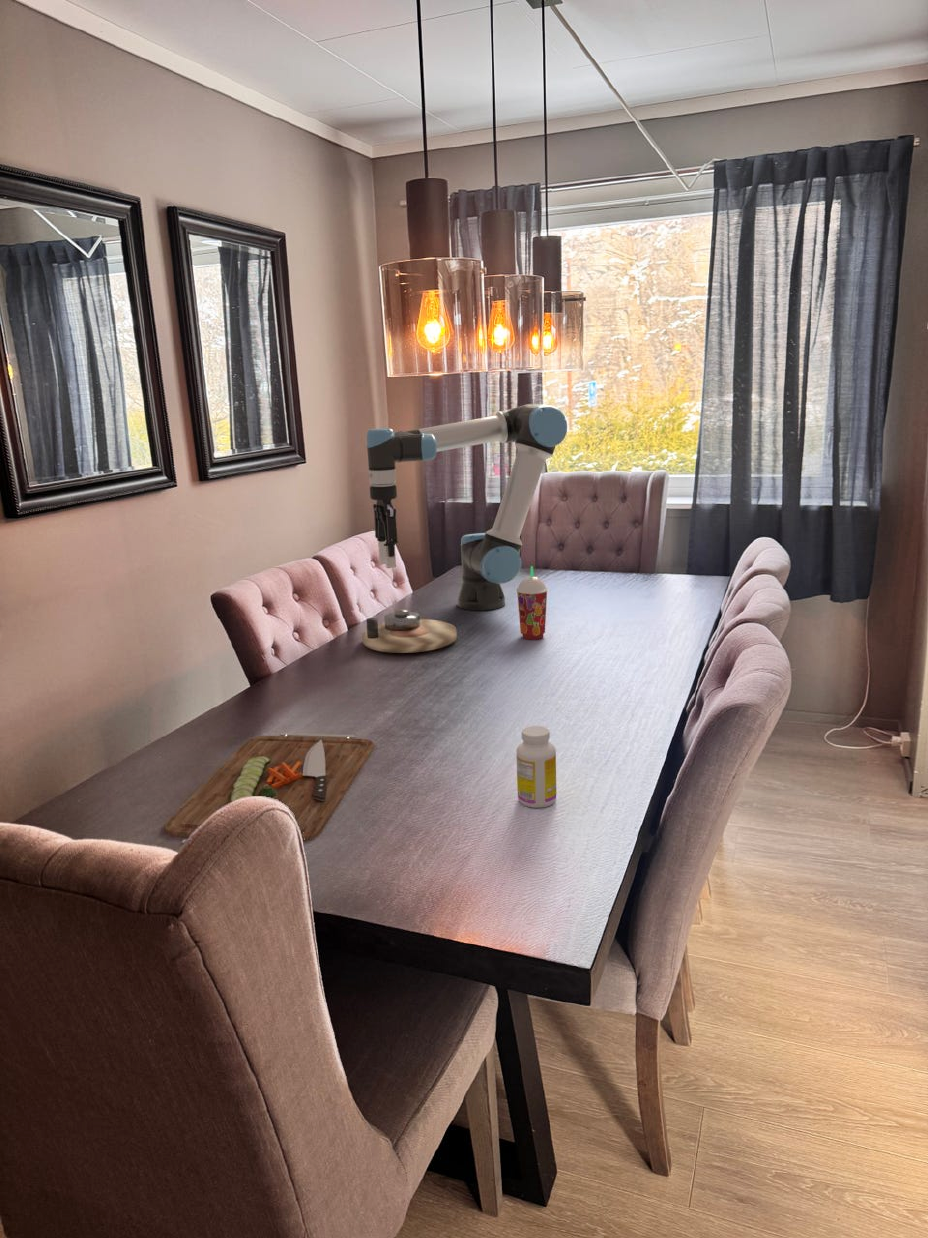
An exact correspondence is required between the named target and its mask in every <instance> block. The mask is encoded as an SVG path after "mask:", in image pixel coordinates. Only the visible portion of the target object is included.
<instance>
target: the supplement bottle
mask: <svg viewBox="0 0 928 1238" xmlns="http://www.w3.org/2000/svg"><path fill="white" fill-rule="evenodd" d="M550 737H551V736H550V729H549V728H548V727H544V726H540V725H530V726H526V727H524V728H523V729H522V730H521V739H522V742H521V743H519V744H518V745H517V748H516V778H517V779H516V780H517V798H518V799H517V800H518V801H519V803H521V805H522V806H525V807H528V808H534V809H535V808H536V809H537V808H538V809H539V808H546V807H547V808H548V807H550V806H552V805H553V804H554V803H555V802H556V801H557V752H556V747H555V745H554V744H553V743H552V742H551V741H549V740H550Z"/></svg>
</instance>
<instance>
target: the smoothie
mask: <svg viewBox="0 0 928 1238" xmlns="http://www.w3.org/2000/svg"><path fill="white" fill-rule="evenodd" d="M516 591H517V604H518V616H519V617H518V618H519V628H520V634H521V636H522V638H523V639H525V640H528V641H529V640H531V641H532V640H535V641H536V640H540V639H543V637H544V634H545V633H546V620H547V616H546V615H547V602H548V601H547V600H548V599H547V597H548V587H547V586H546V584H545V582H544V581H543V580H542V579H541V578H540V577H538V576H534V566H533V565H532V566H530V576H529V575H528V576H527V577H524V578H523V579H522V580H521V581H520V583H519V585H518V587H517V588H516Z"/></svg>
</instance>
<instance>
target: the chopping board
mask: <svg viewBox="0 0 928 1238" xmlns="http://www.w3.org/2000/svg"><path fill="white" fill-rule="evenodd" d="M374 748H375V744H374V742H373V741H372V740H370V739H367V738H357V736H356V734H355V735H354V734H332V733H331V734H328V733H327V734H325V733H295V732H293V733H291V732H281V733H280V734H279V735H260V736H259V735H258V736H255V737H251V738H249V739H247V740H246V741H244V743H243V744H242V745H241V746H240V747H238V749H237V750H236V751H235V752H234V753H233V754H232V755H230V757H229V758H228V759H226V760H225V762H224V763H223V764H222V765H221V766H220V767H219V768H218V769H216V771H215V772H214V773H213V774H212V775H211V776H210V777H209V778H208V779H207V780H206V781H205V782H203V784H202V785H201V786H200V787H199V788H198V789H197V790H195V792H194V793H193V794H192V795H191V796H190V797H189V798H188V799H187V800H186V801H185V802H184V803H183V804H182V805H181V806H180V807H179V808H178V809H177V810H176V811H175V812H174V813H173V814H172V815H171V816H170V817H169V818H168V819H167V820H166V821H165V823H164V824H163V825H164V831H165V833H166V834H168V835H169V836H174V837H185V838H187V837H188V838H190V837H189V836H190V834H191V833H192V832H193V831H194V830H195V829H196V828H197V827H198V826H200V825H201V824H202V823H203V822H204V821H205V820H206V819H207V818H208V817H209V816H210V815H211V814H212V813H213V812H215V811H216V810H218V809H219V808H221V807H222V806H224V805H226V804H228V803H230V802H232V801H234V800H236V799H237V798H240V797H244V796H266V797H271V798H274V799H278V800H279V801H281V802H282V803H284V804H285V805H287V806H288V807H289V809H290V810H291V811H292V812H293V813H294V815H295V819H296V821H297V823H298V826H299V827H300V830H301V834H302V838H303V842H302V843H304V842H307V841H310V840H313V839H316V838H317V837H318V836H319V835H320V834H321V833H322V832H323V830H324V828H325V827H326V825H327V824H328V822H329V820H331V819H330V818H331V817H332V816H333V814H334V812H335V811H336V809H337V808H338V806H339V804H340V803H341V802H342V800H343V798H344V796H345V795H346V794H347V792H348V791H349V789H350V787H352V784H353V782H354V781H355V780H356V778H357V776H358V775H359V774H360V772H361V770H362V768H364V765H365V764H366V762H367V761H368V759H369V758H370V756H371V754H372V753H373V752H374ZM214 809H215V810H214ZM303 832H304V833H303ZM185 838H184V839H182V841H181V844H182V845H184V844H183V843H184V842H185V841H186V840H187V839H185ZM304 838H305V840H304Z"/></svg>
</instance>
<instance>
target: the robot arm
mask: <svg viewBox="0 0 928 1238" xmlns="http://www.w3.org/2000/svg"><path fill="white" fill-rule="evenodd" d="M567 433H568V422H567V419H566V416H565V414H564V413H563V412H562V410H561V409H559V408H558V407H556V406H553V405H549V404H546V403H544V404H543V403H542V404H535V403H533V404H532V403H528V404H524V405H520V406H517V407H516V406H515V407H513V408H509V409H505V410H501V411H497V412H496V413H495V414H494V415H492V416H485V417H480V418H475V419H469V420H464V421H463V420H462V421H457V422H452V423H451V422H450V423H447V424H446V423H445V424H440V425H435V426H430V427H429V426H427V427H423V428H417V429H411V430H406V431H405V430H400V431H396V432H394V430H393V429H392V428H371V429H369V430H367V432H366V448H367V464H368V474H367V475H366V476H367V478H369V479H368V480H369V484H370V486H369V495H370V496H369V497H370V499H371V500H373V501H376V504H375V503H374V504H373V505H372V507H373V515H374V516H373V517H374V537H375V539H376V540H377V544H378V559H379V562H378V564H379V565H385V568H386V569H391V568H392V569H393V568H397V558H396V544H398V529H397V518H396V517H397V516H396V515H397V509H396V508H394V506H393V505H392V500H395V499H397V497H398V495H397V493H398V492H397V485H396V483H397V469H396V463H405V462H406V463H407V462H426V461H433V460H434V459H436V456H437V453H438V452H439V453H440V452H443V451H449V450H454V449H461V448H467V447H472V446H478V445H483V444H488V443H495V442H500V443H501V444H506V443H514V446H515V447H516V449H517V453H516V456H515V459H514V462H513V465H512V467H511V472H510V474H509V476H508V480H507V483H506V485H505V490H504V492H503V495H502V499H501V501H500V504H499V507H498V511H497V513H496V516H495V519H494V522H493V525H492V528H491V529H488V530H487V531H485V532H480V533H479V532H477V533H468V534H465V535H463V536H462V537H461V539H460V540H461V541H460V548H461V549H460V553H461V555H460V557H461V578H462V581H461V586H460V589H459V591H458V592H459V593H458V597H457V606H458V608H460V609H463V610H467V611H468V610H469V611H489V610H490V611H491V610H496V609H500V608H502V607H504V606H505V605H506V597H505V594H504V591H503V590H504V589H503V587H502V585H501V584H507V583H509V582H511V581H513V580H514V579H516V577H517V576H518V575H519V573H520V571H521V568H522V558H521V555H520V552H521V549H522V547H523V543H522V540H521V537H520V536H521V534H522V531H523V527H524V524H525V522H526V518H527V516H528V512H529V510H530V507H531V504H532V501H533V499H534V495H535V493H536V489H537V486H538V484H539V480H540V477H541V474H542V471H543V469H544V465H545V463H546V461H547V460H548V459H550V458H551V457H553V456H554V453H555V450H556V446H558V445H559V444H561V443H562V442H563V441H564V439H565V438H566V436H567Z"/></svg>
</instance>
